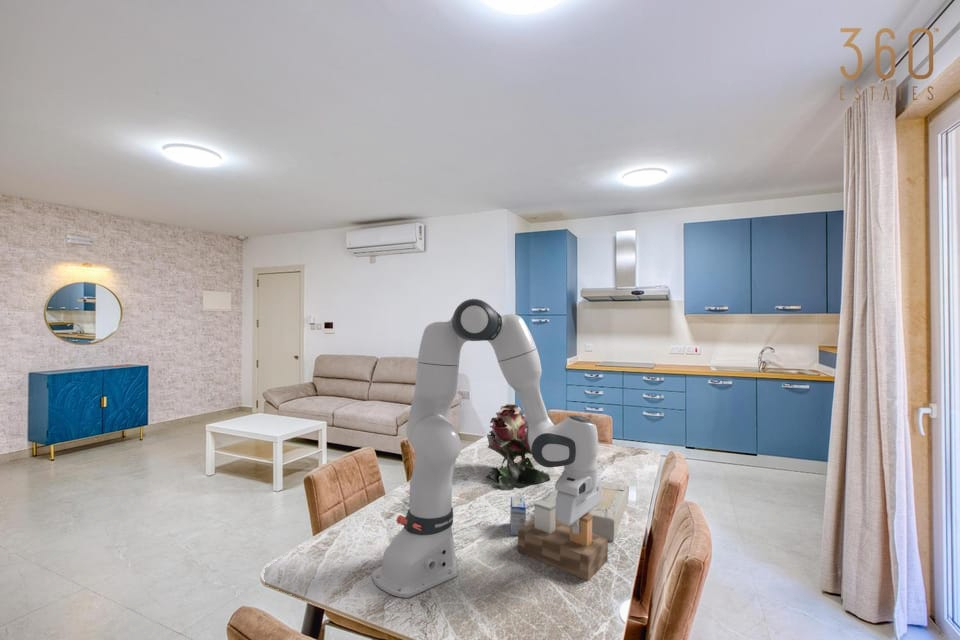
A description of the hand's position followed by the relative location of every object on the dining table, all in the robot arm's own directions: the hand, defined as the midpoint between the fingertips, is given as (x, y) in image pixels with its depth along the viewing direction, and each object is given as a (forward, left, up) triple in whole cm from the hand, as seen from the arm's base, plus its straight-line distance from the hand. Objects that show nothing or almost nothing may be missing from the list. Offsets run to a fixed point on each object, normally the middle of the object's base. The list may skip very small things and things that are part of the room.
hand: (580, 529), depth 116 cm
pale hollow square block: (+30, +12, -10) cm, 33 cm away
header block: (0, +5, -9) cm, 10 cm away
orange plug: (0, 0, -6) cm, 6 cm away
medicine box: (+5, +23, -9) cm, 26 cm away
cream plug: (0, +11, -7) cm, 13 cm away
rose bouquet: (+44, +51, -9) cm, 68 cm away
